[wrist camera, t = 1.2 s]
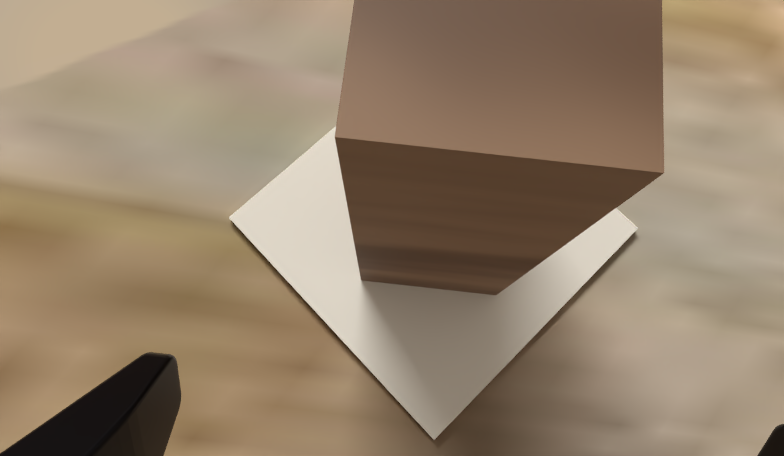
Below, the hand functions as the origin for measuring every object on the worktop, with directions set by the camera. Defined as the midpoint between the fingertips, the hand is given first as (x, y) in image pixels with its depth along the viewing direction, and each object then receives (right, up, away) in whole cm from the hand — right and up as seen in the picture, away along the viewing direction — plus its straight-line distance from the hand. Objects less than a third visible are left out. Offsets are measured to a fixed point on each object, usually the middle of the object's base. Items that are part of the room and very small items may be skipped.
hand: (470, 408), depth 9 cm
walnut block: (0, +3, +13) cm, 14 cm away
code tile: (0, +3, +14) cm, 14 cm away
